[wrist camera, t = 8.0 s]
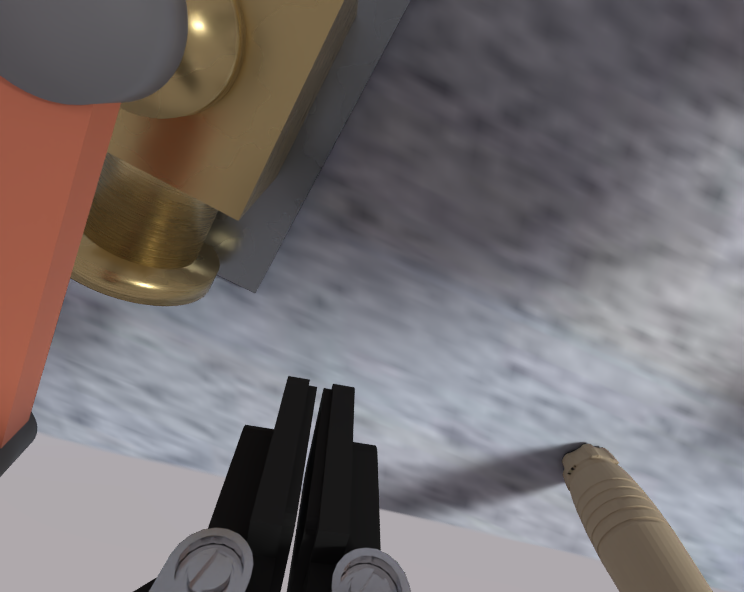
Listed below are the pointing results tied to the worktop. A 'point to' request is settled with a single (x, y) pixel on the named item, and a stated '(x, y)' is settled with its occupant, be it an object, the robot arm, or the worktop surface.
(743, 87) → the worktop surface
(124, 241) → the valve
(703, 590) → the handle
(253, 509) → the robot arm
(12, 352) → the lever
